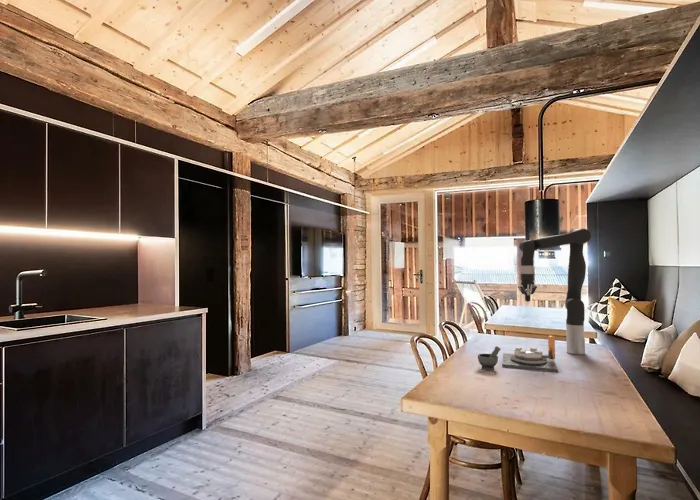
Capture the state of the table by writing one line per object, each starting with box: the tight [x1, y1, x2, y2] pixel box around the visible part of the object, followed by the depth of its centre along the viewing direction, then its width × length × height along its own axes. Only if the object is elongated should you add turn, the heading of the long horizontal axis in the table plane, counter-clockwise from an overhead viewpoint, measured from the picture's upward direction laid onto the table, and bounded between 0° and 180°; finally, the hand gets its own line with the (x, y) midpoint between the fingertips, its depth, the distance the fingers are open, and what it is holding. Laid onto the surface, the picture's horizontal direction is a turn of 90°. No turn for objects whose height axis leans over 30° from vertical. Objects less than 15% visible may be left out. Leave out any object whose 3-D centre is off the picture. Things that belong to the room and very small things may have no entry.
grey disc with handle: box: [513, 335, 556, 361], centre depth 212 cm, size 21×14×12 cm
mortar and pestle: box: [477, 346, 501, 372], centre depth 201 cm, size 11×9×12 cm
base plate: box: [501, 352, 559, 373], centre depth 212 cm, size 26×26×3 cm
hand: (527, 301), depth 238 cm, fingers closed
